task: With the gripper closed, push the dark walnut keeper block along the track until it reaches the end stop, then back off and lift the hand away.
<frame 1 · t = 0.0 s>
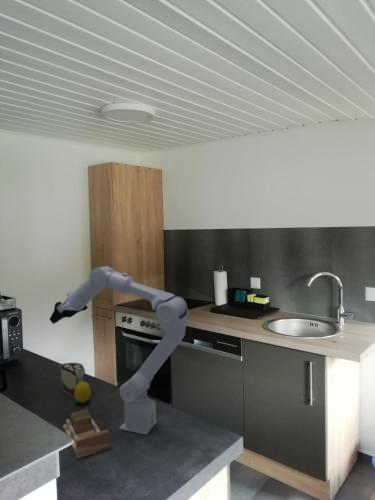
hand: (59, 318, 127), 32 cm above the counter, tool tilted 50°, fingers open, 7 cm apart
lemon: (83, 403, 135), on the counter
food container: (76, 392, 144), on the counter
keeper: (81, 421, 117), point 3 cm above the counter, slide at 0.0 cm
track: (87, 440, 112), on the counter
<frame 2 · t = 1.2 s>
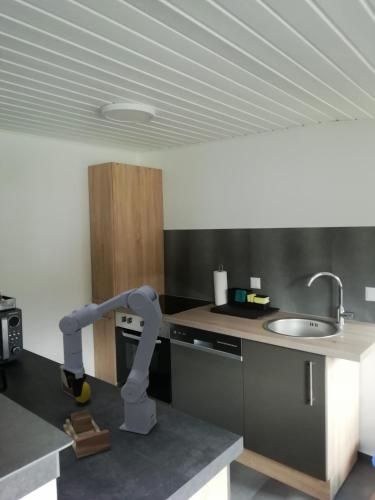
hand: (74, 392, 123), 9 cm above the counter, tool pointing down, fingers open, 7 cm apart
nothing on the counter moved.
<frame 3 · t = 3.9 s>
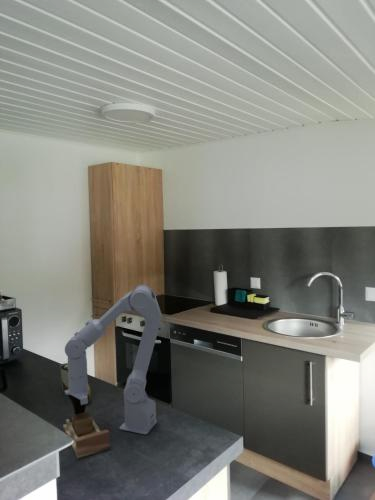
hand: (79, 417, 119), 3 cm above the counter, tool pointing down, fingers closed
keeper: (82, 423, 116), point 3 cm above the counter, slide at 1.4 cm, touching gripper
everything else where it was.
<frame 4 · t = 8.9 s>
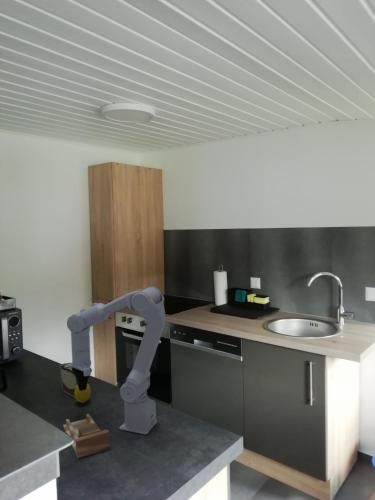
hand: (82, 389, 124), 9 cm above the counter, tool pointing down, fingers closed
keeper: (89, 435, 109), point 3 cm above the counter, slide at 9.0 cm
everything else where it was.
at the end: keeper slide at 9.0 cm; lemon moved 0.2 cm from its start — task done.
